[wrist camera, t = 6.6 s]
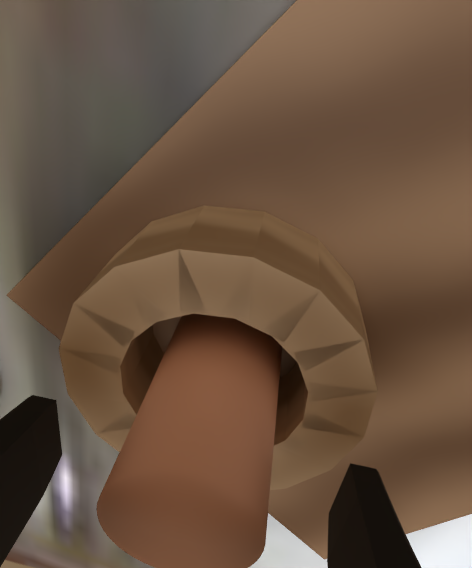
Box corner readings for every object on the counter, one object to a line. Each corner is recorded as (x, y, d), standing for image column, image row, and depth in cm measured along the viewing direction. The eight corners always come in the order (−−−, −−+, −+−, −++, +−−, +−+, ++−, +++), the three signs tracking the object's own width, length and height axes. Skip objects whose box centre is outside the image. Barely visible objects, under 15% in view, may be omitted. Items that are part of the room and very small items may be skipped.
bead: (416, 355, 14) (440, 425, 12) (222, 452, 18) (207, 521, 16) (237, 143, 12) (218, 175, 9) (54, 309, 16) (4, 363, 13)
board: (727, 397, 15) (758, 424, 14) (323, 535, 22) (324, 559, 21) (436, -138, 9) (452, -158, 8) (24, 279, 17) (6, 295, 16)
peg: (304, 341, 15) (301, 550, 9) (228, 386, 16) (181, 591, 10) (234, 267, 14) (176, 447, 8) (160, 323, 15) (64, 509, 9)
